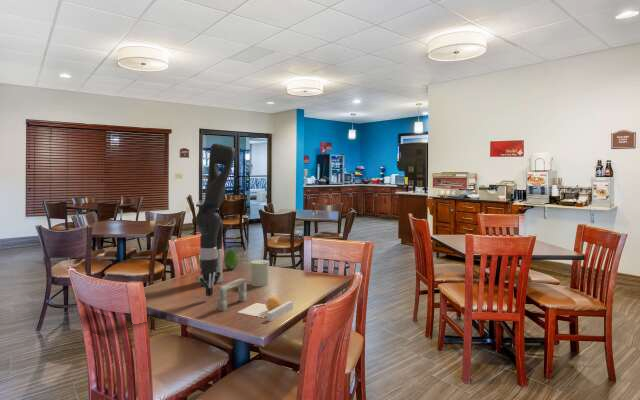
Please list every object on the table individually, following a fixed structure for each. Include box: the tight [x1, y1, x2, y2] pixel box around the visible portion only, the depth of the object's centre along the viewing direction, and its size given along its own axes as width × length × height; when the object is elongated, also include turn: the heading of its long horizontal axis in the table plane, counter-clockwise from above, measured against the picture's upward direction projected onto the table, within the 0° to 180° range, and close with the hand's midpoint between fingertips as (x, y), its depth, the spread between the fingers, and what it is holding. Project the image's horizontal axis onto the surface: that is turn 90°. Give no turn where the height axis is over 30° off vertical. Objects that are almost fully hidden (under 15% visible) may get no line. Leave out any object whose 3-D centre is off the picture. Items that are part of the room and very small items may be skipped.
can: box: [250, 259, 270, 287], centre depth 199 cm, size 9×9×12 cm
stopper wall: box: [266, 300, 294, 322], centre depth 156 cm, size 2×16×3 cm, turn 153°
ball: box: [265, 296, 282, 311], centre depth 159 cm, size 6×6×6 cm
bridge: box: [217, 277, 248, 312], centre depth 167 cm, size 3×15×10 cm, turn 153°
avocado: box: [223, 248, 239, 270], centre depth 231 cm, size 8×8×12 cm
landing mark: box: [236, 302, 269, 319], centre depth 161 cm, size 13×13×1 cm
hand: (209, 295), depth 173 cm, fingers closed
